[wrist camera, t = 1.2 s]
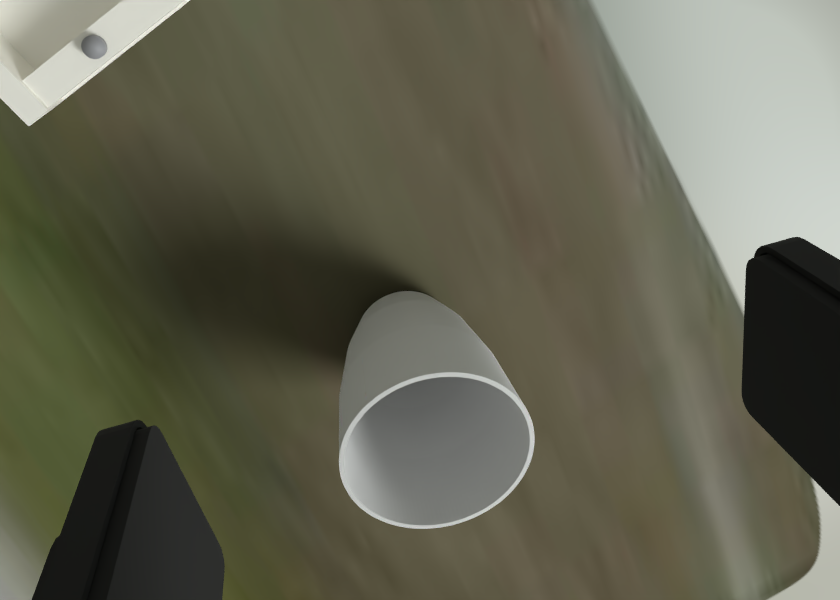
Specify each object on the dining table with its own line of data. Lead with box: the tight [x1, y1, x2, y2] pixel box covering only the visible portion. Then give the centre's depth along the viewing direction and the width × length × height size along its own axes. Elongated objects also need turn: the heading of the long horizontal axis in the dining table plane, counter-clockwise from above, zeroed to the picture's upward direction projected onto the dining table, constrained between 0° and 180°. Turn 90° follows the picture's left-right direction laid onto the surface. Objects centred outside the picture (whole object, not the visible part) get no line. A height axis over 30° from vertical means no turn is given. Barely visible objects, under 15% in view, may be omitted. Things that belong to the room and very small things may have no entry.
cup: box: [339, 291, 534, 529], centre depth 32 cm, size 8×8×10 cm
